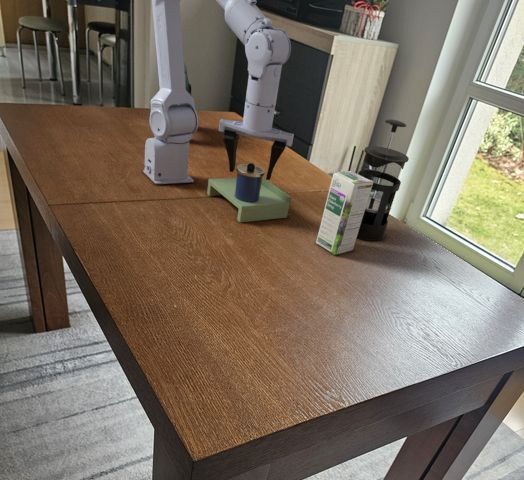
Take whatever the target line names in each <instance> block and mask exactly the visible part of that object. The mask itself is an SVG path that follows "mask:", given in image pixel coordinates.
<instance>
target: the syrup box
mask: <svg viewBox="0 0 524 480" xmlns="http://www.w3.org/2000/svg"><path fill="white" fill-rule="evenodd" d="M373 183H374V180H372V179H371V180H369V179H366V178H364V177H362V176H360V175H358V173H356V172H355V171H353V170H342V171H341V170H340V171H336V172H334V173H333V174H332V178H331V180H330V184H329V189H328V193H327V197H326V201H325V206H324V209H323V213H322V216H321V217H322V218H321V222H320V226H319V229H318V233H317V237H316V240H315V244H316V245H318V246H320V247H321V248H323V249H325V250H327V252H330V253H331V254H332V255H334V256H337V255H341V254H344V253H347V252H351V251H353V250H354V247H355V245H356V241H357V239H358V238H357V235H358V231H359V228H360V225H361V221H362V218H363V215H364V211H365V208H366V205H367V201H368V198H369V197H370V194H371V191H372V189H371V188H372V185H373Z"/></svg>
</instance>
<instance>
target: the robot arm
mask: <svg viewBox="0 0 524 480" xmlns="http://www.w3.org/2000/svg"><path fill="white" fill-rule="evenodd" d="M215 1H216V3H217V4H218V5H219V6H220V7H221V8H222V9H223V10H224V22H225V23H226V25H228V27H229V29H231V31H232V32H233V33H234V34H235V36H236V37H237V38H238V39H239V41H240V42H241V43H242V44H243V46H244V50H245V51H244V52H245V56H246V59H247V71H248V78H247V86H246V94H245V100H244V101H245V102H244V111H243V118H242V121H240V120H231V119H225V118H221V119H220V120H219V121H218V123H219V124H218V132H221V133H223V135H222V141H223V144H224V147H225V150H226V154H227V159H228V167H229V168H228V171H229V173H234V171H235V170H236V169H235V168H236V164H237V163H236V162H237V150H238V144H239V138H240V136H244V137H249V138H254V139H258V140H264V141H268V142H273V143H272V144H271V149H270V157H269V162H268V163H269V164H268V168H267V172H266V177H265V179H266V180H268V181H270V180H271V178H272V174H273V171H274V168H275V167H276V164H277V162H278V160H279V159H280V157H281V156H282V154H283V152H284V151H285V150H286V147H292V146H293V141H294V136H295V134H294V133H291V132H287V131H284V130H281V129H277V128H274V127H273V123H274V117H275V110H276V105H277V99H278V92H279V88H280V87H279V86H280V79H281V74H282V68H283V65H284V64H286V63H287V61H288V60H289V58H290V56H291V53H292V44H291V43H292V42H291V40H290V37H289V35H288V33H287V31H286V30H285V29H283V28H279V27H277V28H276V27H274V26H273V21H272V20H271V18H269V17H266V15H265V14H263V12H262V11H261V10H260V8H259V7H258V6H257V2H258V1H257V0H215ZM151 5H152V6H151V7H152V8H151V9H152V20H153V29H154V30H153V31H154V38H155V39H154V41H155V52H156V53H155V54H156V62H157V74H158V84H159V85H158V86H159V90H158V92H156V94H155V95H154V96H153V97H152V98H151V100H150V101H149V102H150V113H149V127H150V129H151V132H152V134H153V135H154V137H149V138H146V141H145V144H144V169H143V170H142V172H143V174H145V175H146V176H147V177H148V178H149V179H150V180H151V181H152V182H153V183H154V184H156V185H170V184H187V183H190V184H191V183H194V182H195V180H194V178H192V177H191V176H190V175H188V172H189V171H188V169H189V155H190V154H189V153H190V142H191V140H192V139H193V134H195V133H197V131H198V128H199V123H200V122H199V115H198V112H197V110H196V105H195V104H196V103H195V98H193V96H192V94H191V95H190V94H189V93H188V92H187V91H186V89H185V74H184V63H185V61H184V45H183V30H182V17H181V0H151ZM174 104H178V106H170V105H174Z"/></svg>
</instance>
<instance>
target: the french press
mask: <svg viewBox="0 0 524 480" xmlns="http://www.w3.org/2000/svg"><path fill="white" fill-rule="evenodd" d="M384 122H385V123H386V124H387V125H390V126H391V130H390V132H391V135H390V138H389V141H388V145H387V147H383V146H375V145H371V146H366V147H364V153H365V155H364V160H363V162H364V163H365V164H367V165H368V166H370V167H373V168H376V169H377V168H378V169H379V168H380V171H379V170H375V169H371V168H369V167H362V168H361V170H359V171H358V172H357V174H358V175H360V176H362V177H364V178H366V179H369V180H372V179H373V178H378V179H377V181H376V182H373V185H372V188H371V191H372V190H373V191H374V192H373V195H372V196H369V198H368V201H367V205H366V208H365V211H364V215H363V218H362V221H361V225H360V228H359V231H358V235H357V238H356V239H358V240H363V241H367V242H379V241H382V240H384V239H385V236H386V230H387V226H388V223H389V220H388V218H389V216H390V212H391V210H392V206H393V202H394V199H395V196H396V193H397V192H398V191H399V190H400V188H401V184H402V181H401V180H400V179H399V178H398V177H396V176H395V175H392V174H389V173H387V172H384V171H383V170H384V166H385V165H389V164H397V165H398V166H400V169H401V170H404V168H405V165H406V163H408V162H409V160H410V158H409V156H407V155H406V154H404V153H403V152H400V151H398V150H395V149H392V148H391V144H392V140H393V137H394V134H395V133H396V132H397V129H398V127H399V128H406V127H407V124H406V123H405V122H403V121H400V120H397V119H391V118H390V119H385V121H384ZM380 180H385V181H387V182H390V183H391V184H392V185H385V184H380ZM377 192H381V193H382V195H381V198H377V197H376V194H377Z"/></svg>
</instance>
